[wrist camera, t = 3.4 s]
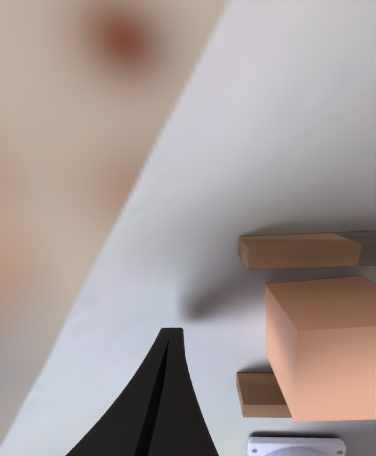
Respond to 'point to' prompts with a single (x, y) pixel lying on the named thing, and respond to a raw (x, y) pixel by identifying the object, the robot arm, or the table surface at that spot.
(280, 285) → the terracotta block
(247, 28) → the table surface
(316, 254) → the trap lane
